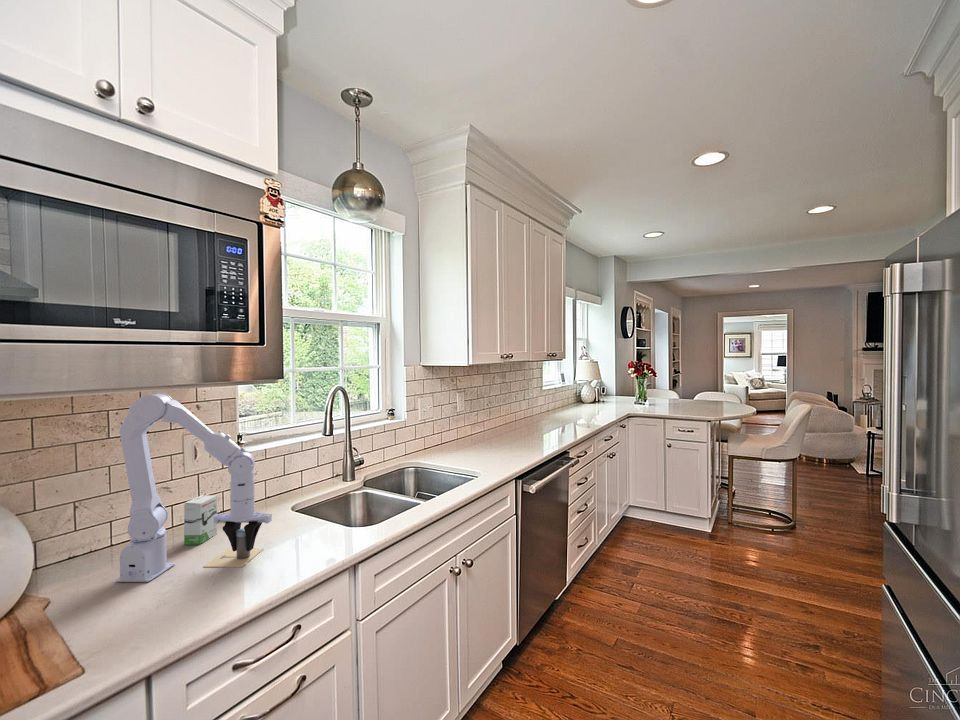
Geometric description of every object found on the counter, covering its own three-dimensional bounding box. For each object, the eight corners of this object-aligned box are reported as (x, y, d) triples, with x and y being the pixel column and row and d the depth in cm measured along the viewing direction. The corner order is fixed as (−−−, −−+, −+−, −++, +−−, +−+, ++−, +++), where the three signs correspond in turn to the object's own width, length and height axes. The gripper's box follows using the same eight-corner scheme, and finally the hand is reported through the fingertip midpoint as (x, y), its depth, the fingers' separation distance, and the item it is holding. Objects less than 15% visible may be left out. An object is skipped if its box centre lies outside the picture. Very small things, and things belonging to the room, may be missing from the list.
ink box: (200, 545, 131) (199, 503, 131) (183, 545, 131) (182, 503, 131) (218, 533, 140) (217, 494, 140) (202, 533, 140) (201, 494, 140)
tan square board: (242, 567, 117) (242, 566, 117) (203, 567, 117) (203, 566, 117) (263, 549, 128) (263, 548, 128) (227, 549, 128) (227, 548, 128)
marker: (246, 559, 121) (246, 532, 121) (233, 559, 121) (233, 532, 121) (252, 554, 124) (252, 527, 124) (240, 554, 124) (240, 528, 124)
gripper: (276, 493, 126) (277, 543, 126) (223, 494, 127) (224, 543, 127) (264, 501, 119) (264, 554, 119) (208, 502, 120) (209, 554, 120)
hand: (243, 549), depth 122 cm, fingers closed on marker, 3 cm apart
